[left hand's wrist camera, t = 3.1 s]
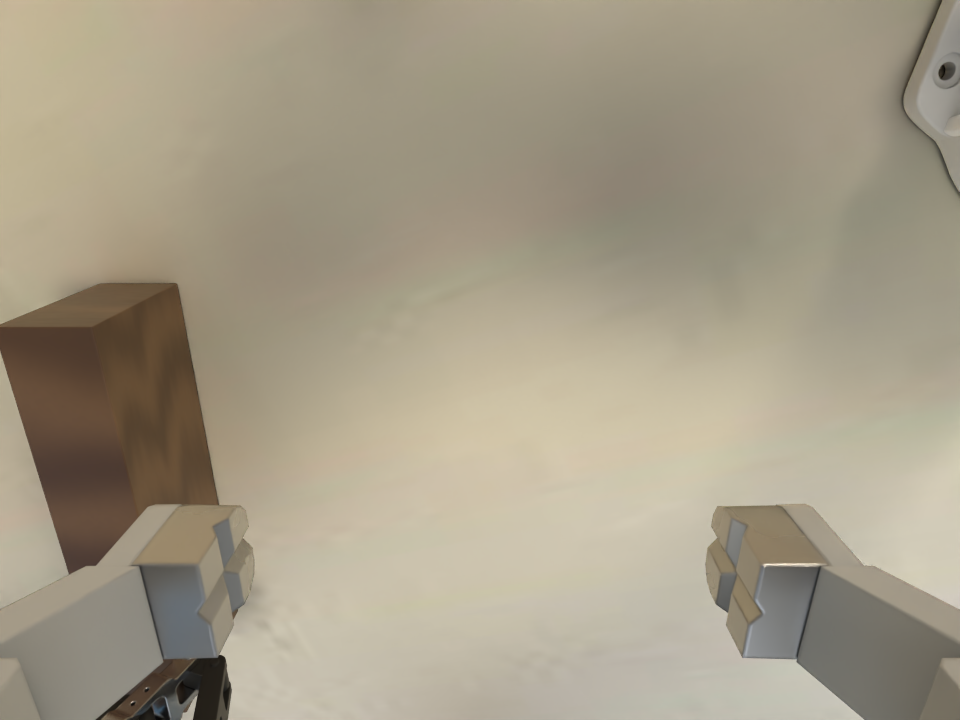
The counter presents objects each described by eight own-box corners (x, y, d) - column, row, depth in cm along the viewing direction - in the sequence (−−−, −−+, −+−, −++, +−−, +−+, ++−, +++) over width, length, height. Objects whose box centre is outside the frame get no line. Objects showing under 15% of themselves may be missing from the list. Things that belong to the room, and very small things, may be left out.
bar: (99, 283, 36) (-8, 327, 28) (177, 283, 36) (91, 327, 28) (176, 610, 45) (111, 712, 37) (238, 610, 45) (186, 713, 37)
